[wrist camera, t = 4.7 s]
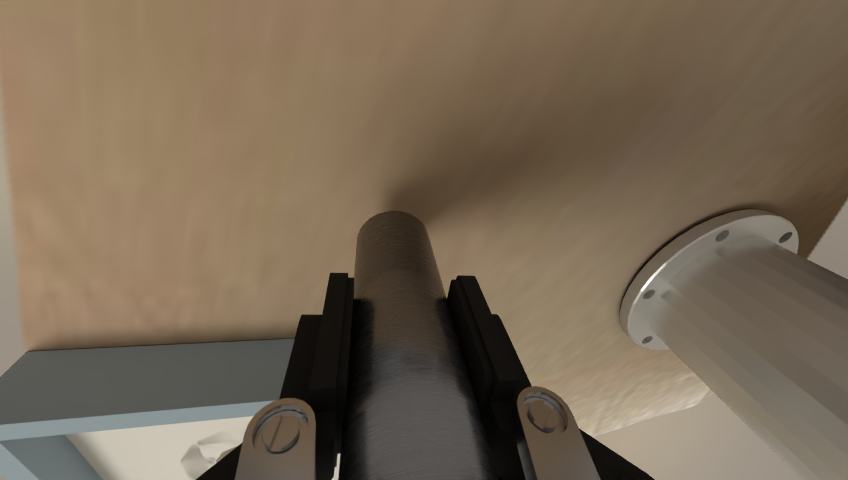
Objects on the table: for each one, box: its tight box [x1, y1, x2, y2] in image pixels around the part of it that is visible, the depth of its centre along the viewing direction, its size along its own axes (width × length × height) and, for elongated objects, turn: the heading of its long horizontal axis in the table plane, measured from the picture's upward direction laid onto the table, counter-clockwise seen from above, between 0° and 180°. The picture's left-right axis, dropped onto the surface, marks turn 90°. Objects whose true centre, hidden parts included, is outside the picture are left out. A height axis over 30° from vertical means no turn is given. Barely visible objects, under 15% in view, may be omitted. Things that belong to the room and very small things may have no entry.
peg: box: [338, 211, 499, 480], centre depth 9 cm, size 3×3×12 cm
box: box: [0, 339, 340, 480], centre depth 23 cm, size 20×20×4 cm
